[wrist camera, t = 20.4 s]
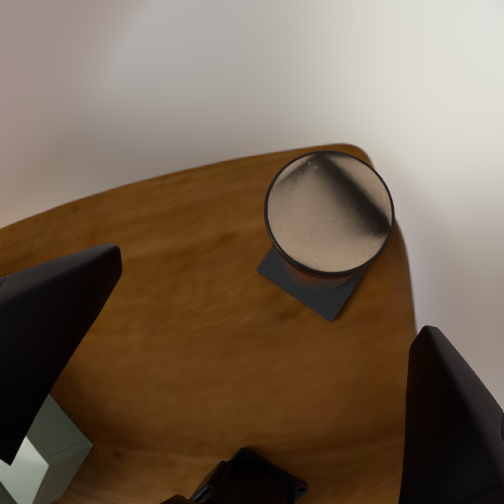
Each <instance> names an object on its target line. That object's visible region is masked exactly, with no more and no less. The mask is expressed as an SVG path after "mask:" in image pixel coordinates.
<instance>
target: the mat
mask: <svg viewBox="0 0 504 504" xmlns="http://www.w3.org/2000/svg"><path fill="white" fill-rule="evenodd" d="M368 266H369V265H368ZM368 266H367V267H368ZM367 267H366V268H365V269H363V270H362V271H360V272H358V273H356V274H354V275H353V276H351V277H350V278H349V279H348V280H347V281H345V282H344V283H343V284H342V285H340V286H339V287H337V288H335V289H333V290H331V291H327V292H312V291H309V290H306V289H304V288H302V287H300V286H299V285H298V284H296V283H295V282H294V281H293V280H292V278H291V277H290V275H289V274H288V272H287V270H286V267H285V265H284V262H283V260H282V258H281V256H280V254H279V253H278V252H277V250H276V248H275V247H274V245H273V247H272V248H271V250H270V251H269V252H268V254H267V255H266V257H265V258H264V260H263V261H262V262H261V264H260V265H259V267H258V268H257V270H256V271H257V272H259V273H260V274H262V275H263V276H265V277H266V278H267V279H269V280H270V281H272V282H273V283H275V284H276V285H278V286H279V287H281V288H282V289H283V290H285V291H286V292H288V293H289V294H291V295H292V296H294V297H295V298H297V299H298V300H300V301H301V302H302V303H304V304H305V305H307V306H308V307H310V308H311V309H313V310H314V311H316V312H317V313H319V314H320V315H322V316H323V317H325V318H326V319H327V320H329V321H330V322H333V320H334V319H335V317H336V316H337V314H338V313H339V311H340V310H341V308H342V307H343V305H344V304H345V302H346V301H347V299H348V298H349V296H350V294H351V293H352V291H353V290H354V288H355V287H356V285H357V283H358V282H359V280H360V279H361V277H362V275H363V274H364V272H365V271H366V269H367Z"/></svg>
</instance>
